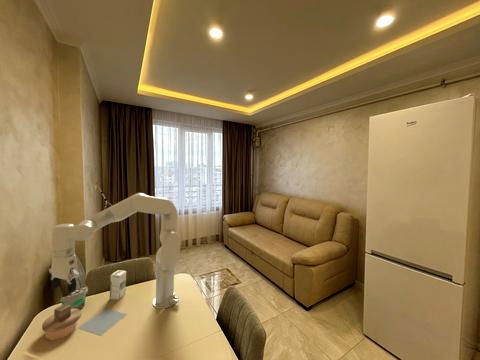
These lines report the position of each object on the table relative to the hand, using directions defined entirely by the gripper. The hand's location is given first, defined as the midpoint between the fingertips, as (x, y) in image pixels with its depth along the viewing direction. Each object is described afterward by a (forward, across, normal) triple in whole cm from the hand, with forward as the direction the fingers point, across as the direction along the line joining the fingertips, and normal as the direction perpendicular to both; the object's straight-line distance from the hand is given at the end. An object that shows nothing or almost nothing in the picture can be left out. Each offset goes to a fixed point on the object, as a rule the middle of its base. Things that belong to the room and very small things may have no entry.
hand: (63, 289), depth 88 cm
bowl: (+19, 0, 0) cm, 19 cm away
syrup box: (+20, -2, -27) cm, 33 cm away
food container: (+19, +8, -12) cm, 24 cm away
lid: (+14, 0, 0) cm, 14 cm away
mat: (+19, -12, -10) cm, 25 cm away
